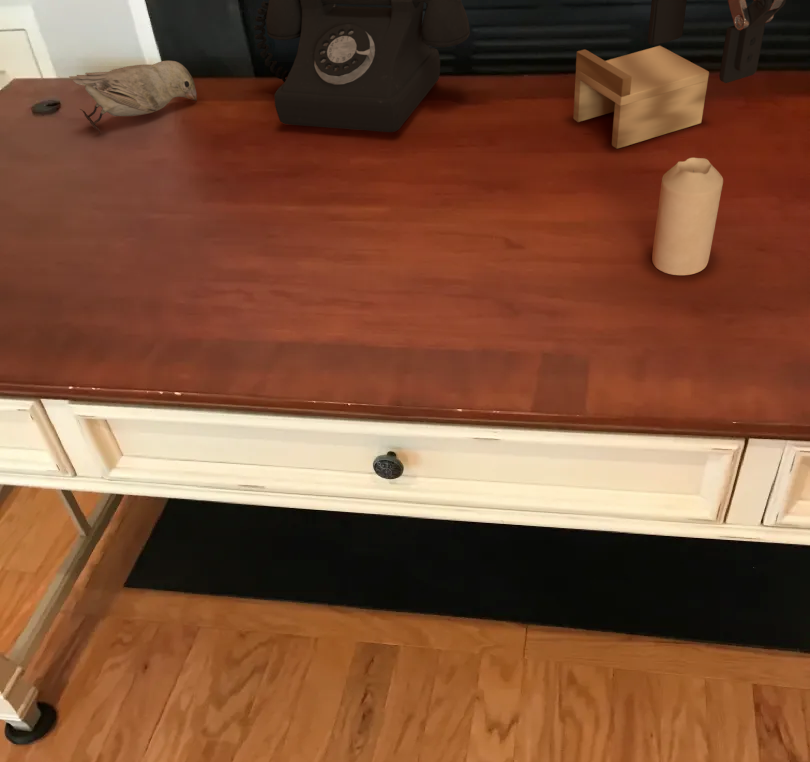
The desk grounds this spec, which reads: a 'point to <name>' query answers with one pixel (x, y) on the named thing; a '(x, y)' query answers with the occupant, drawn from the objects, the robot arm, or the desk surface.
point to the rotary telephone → (359, 58)
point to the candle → (686, 217)
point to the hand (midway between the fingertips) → (699, 58)
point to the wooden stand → (640, 93)
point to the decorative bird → (137, 88)
